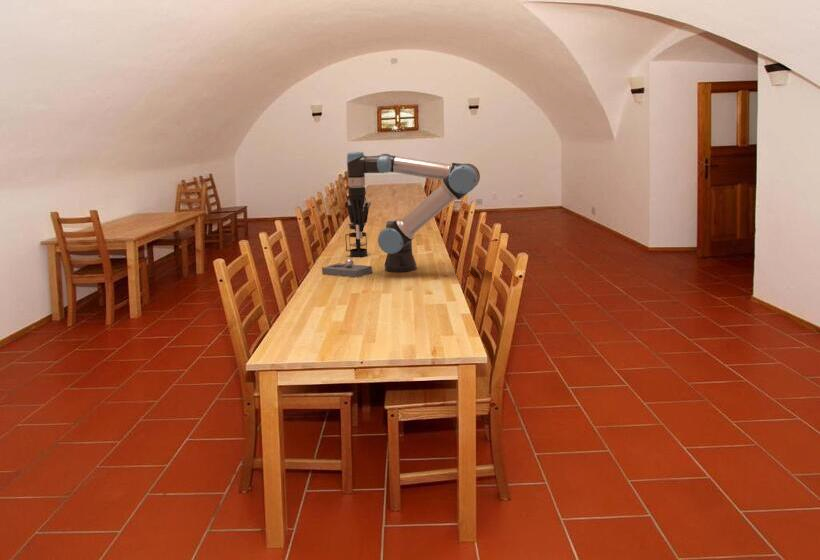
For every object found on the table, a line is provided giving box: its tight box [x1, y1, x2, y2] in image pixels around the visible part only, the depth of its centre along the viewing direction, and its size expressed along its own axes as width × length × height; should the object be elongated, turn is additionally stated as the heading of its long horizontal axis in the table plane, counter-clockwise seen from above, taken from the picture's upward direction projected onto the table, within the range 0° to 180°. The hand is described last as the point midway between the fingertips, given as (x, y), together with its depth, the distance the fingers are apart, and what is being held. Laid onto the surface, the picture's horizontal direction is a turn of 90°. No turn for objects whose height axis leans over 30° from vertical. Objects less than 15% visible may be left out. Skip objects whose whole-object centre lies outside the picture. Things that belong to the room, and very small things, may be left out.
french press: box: [344, 223, 369, 258], centre depth 382 cm, size 12×9×23 cm
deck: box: [321, 262, 373, 278], centre depth 341 cm, size 20×12×3 cm, turn 57°
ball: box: [344, 258, 354, 267], centre depth 340 cm, size 4×4×4 cm
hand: (359, 238), depth 334 cm, fingers closed
